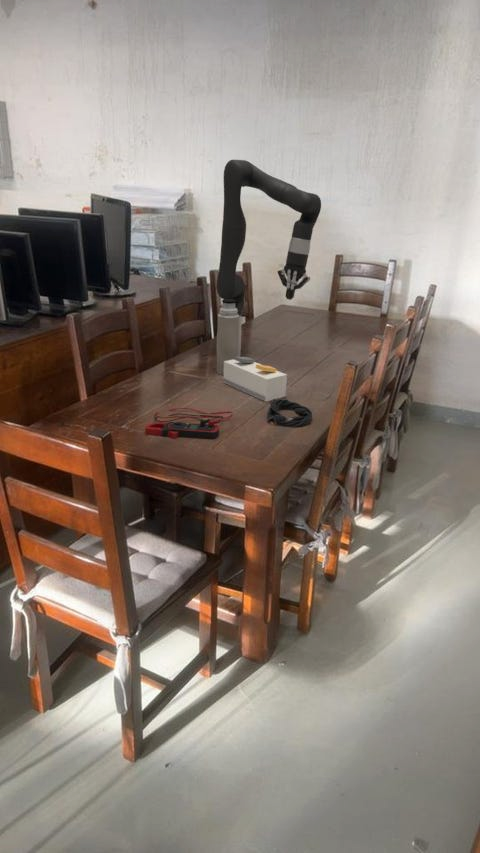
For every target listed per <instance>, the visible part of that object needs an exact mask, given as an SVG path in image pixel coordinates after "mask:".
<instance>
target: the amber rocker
mask: <svg viewBox="0 0 480 853" xmlns="http://www.w3.org/2000/svg"><path fill="white" fill-rule="evenodd" d="M256 368H257V369H259V370H262V371H265V372H268V373H270V372H276V371H277V368H275V367H273V366H271V365H264V364H261V365H256Z"/></svg>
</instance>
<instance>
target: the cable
mask: <svg viewBox="0 0 480 853" xmlns="http://www.w3.org/2000/svg"><path fill="white" fill-rule="evenodd" d="M269 405H270V407H269V408H268V411H267V414H266V418H267V421H272V422H273V423H275V424H276V423H279V424H281V425H283V426H285V427H289V428H297V427H302V426H303V427H304V426H308V424H309V423H311V420H312V417H313V413H312V411H311V409H310V408H308V407H306V406H303V405H301V404H300V403H297V402H294V401H293V402H292V401H290V400H289V399H286V398H284V399H282V398H278V399H273V400H272V402H271V401H270V402H269ZM278 408H279V409H285V410H293V411H294V412H295V413H298V414H302V415H303V416H302V415H297V416H292V417H291V418H287V417H286V416H285V415H282V414H281V413H280V412H279V411H278Z"/></svg>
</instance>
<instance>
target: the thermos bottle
mask: <svg viewBox="0 0 480 853" xmlns="http://www.w3.org/2000/svg"><path fill="white" fill-rule="evenodd" d="M221 303H222V304H221V306H222V308H220V307H219V309H220V311H219V310H218V313H217V333H218V334H217V333H216V363H217V364H216V373H217V374H218V375H221V376H224V361H228V360H233V359H234V358H235V356H237V357H238V340H239V315H238V314H237V312H238V311H237V308H235V300H233V299H221ZM219 312H220V314H219Z"/></svg>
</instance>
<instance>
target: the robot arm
mask: <svg viewBox="0 0 480 853" xmlns="http://www.w3.org/2000/svg"><path fill="white" fill-rule="evenodd" d="M245 187H249V188H252V189H255V190H259V191H261V192H263V193H264V194H265V195H266V196H267V197H268V198H271V199H272V200H274V201H276V202H278V203H280V204H283V205H285V206H288V207H289V208H290V209H292V210H294V211H295V212H298V213H300V217H299V219H298V220H296V221H295V222H294V224H293V228H292V233H291V238H290V241H289V243H288V250H287V254H286V260H285V265H284V266H283V268H282V269H280V270H277V274H278V277H279V279H280V281H281V284H282V286H283V287H285V288H286V291H285V297H286V298H285V299H286V300H288V301H289V300H290V301H291V300H293V299H294V298H295V293H296V292H295V291H296V290H301V289H302V287H303V286H305V285H306V284H307V283H308V282H309V281H310V280H311V277H310V276H308V274H307V270H306V267H307V264H308V258H309V255H310V250H311V242H312V241H311V240H312V235H313V231H314V227H315V224H317V221H318V219H319V215H320V214H321V209H322V199H321V197H320V196H319V195H317V193H311V192H307V191H304V190H301V189H299V188H298V187H296V186H295V185H294V184H292V183H288V182H287V181H284V180H281V179H279V178H277V177H274V176H272V175H271V174H268V173H266V172H264V171H263V170H261V169H260V168H259V167H257V166H255V165H254V164H253V163H251V162H250V161H247V160H246V159H231V160H229V161H227V163H226V164H225V166H224V170H223V212H222V213H223V215H222V226H221V243H220V244H221V245H220V257H219V258H220V259H219V265H218V273H217V279H216V284H215V286H216V288H215V289H216V292H217V294H218V296H219V297H220V299H221V300H223V299H233V300H235V308H237V311H238V312H237V314H238V315H239V340H238V357H241V351H242V350H241V347H242V345H241V344H242V319H243V318H242V314H243V310H244V306H245V296H246V295H245V294H246V286H245V281H244V279H243V277H242V276H241V275H239V274H237V266H238V263H239V262H238V261H239V260H240V256H241V254H242V251H243V249H244V246H245V242H246V236H247V234H246V233H247V221H246V217H245V213H244V211H243V208H242V204H241V203H242V202H241V197H242V196H241V193H242V188H245ZM220 308H222V305H221V306H220V307H219V310H218V314H220V312H219V311H220ZM217 334H218V332H216V335H217Z"/></svg>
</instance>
